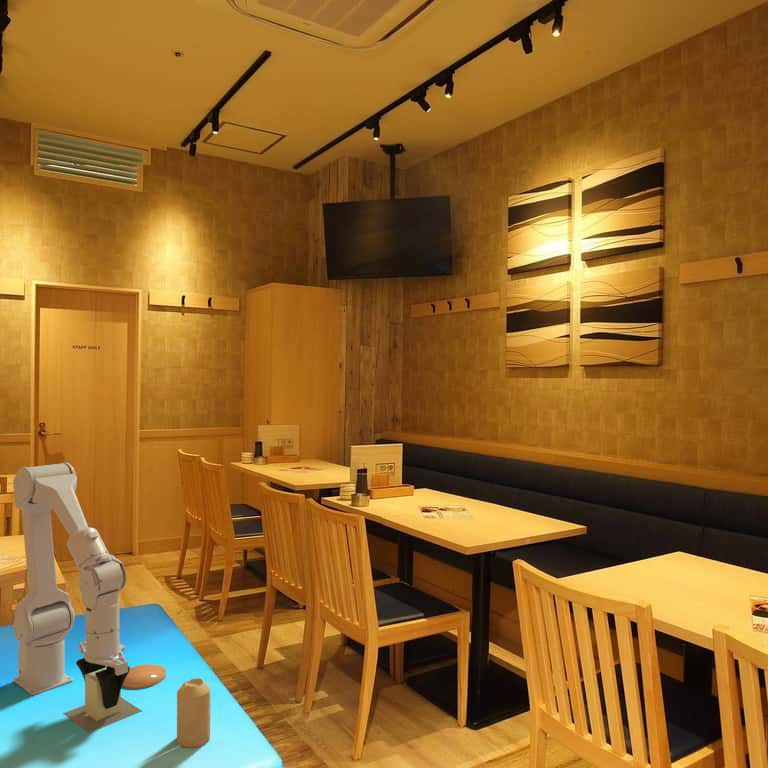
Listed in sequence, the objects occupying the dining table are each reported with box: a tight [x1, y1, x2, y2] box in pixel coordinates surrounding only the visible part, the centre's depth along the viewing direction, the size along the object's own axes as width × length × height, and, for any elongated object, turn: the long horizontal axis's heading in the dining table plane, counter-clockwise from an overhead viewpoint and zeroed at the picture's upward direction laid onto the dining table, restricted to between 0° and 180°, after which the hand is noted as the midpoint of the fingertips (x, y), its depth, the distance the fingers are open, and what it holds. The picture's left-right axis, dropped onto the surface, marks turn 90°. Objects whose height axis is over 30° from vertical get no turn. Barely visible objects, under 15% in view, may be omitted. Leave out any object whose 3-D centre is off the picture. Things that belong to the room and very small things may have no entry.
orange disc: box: [122, 663, 167, 690], centre depth 137 cm, size 9×9×1 cm
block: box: [84, 668, 122, 721], centre depth 124 cm, size 4×4×7 cm
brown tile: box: [62, 696, 143, 734], centre depth 124 cm, size 10×10×1 cm
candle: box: [176, 678, 211, 749], centre depth 115 cm, size 6×6×10 cm
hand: (102, 701), depth 124 cm, fingers open, 5 cm apart
